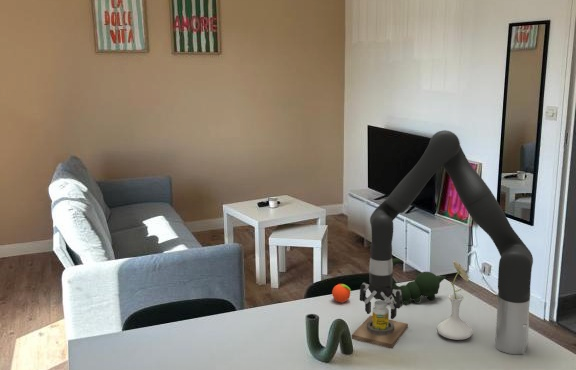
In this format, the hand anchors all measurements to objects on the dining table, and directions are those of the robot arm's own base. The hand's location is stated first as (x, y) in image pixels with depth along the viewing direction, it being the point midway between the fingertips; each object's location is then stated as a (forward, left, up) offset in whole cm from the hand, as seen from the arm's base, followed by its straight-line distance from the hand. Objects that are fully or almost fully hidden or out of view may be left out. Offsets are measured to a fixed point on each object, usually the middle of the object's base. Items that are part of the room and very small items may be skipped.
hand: (380, 315), depth 189 cm
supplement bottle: (0, 0, -5) cm, 5 cm away
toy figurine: (-2, -30, -7) cm, 31 cm away
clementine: (+22, -17, -7) cm, 29 cm away
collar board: (0, 0, -6) cm, 6 cm away
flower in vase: (-22, -11, -7) cm, 25 cm away
